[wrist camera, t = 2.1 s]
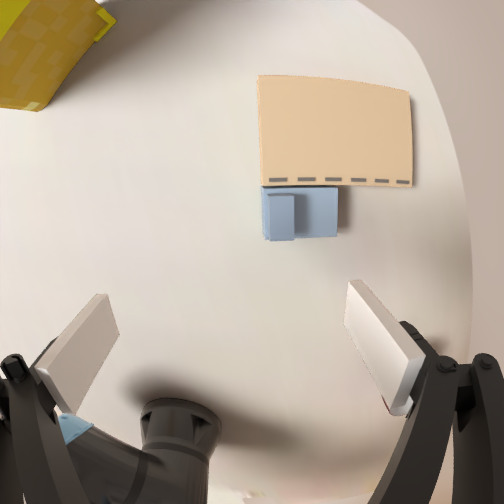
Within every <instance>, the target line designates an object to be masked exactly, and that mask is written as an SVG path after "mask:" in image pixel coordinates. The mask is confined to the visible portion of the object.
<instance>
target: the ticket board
mask: <svg viewBox="0 0 504 504" xmlns="http://www.w3.org/2000/svg"><path fill="white" fill-rule="evenodd" d="M257 97H258V119H259V142H260V167H261V184H262V185H263V186H276V185H367V186H393V187H411V188H412V170H413V152H412V124H411V109H410V98H409V91H404V90H400V89H395V88H391V87H386V86H380V85H375V84H369V83H363V82H356V81H349V80H341V79H332V78H321V77H308V76H288V75H258V79H257Z"/></svg>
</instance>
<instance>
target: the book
mask: <svg viewBox="0 0 504 504" xmlns="http://www.w3.org/2000/svg"><path fill="white" fill-rule="evenodd" d="M116 22H117V21H116V20H115V19H114V18H113V17H112V16H111V15H110V14H109V13H108V12H107V11H106V10H105V9H104V8H103V7H101V6H100V5H99V4H98V3H97V2H96V1H95V0H0V108H9V109H18V110H27V111H35V112H38V111H40V110H42V109H43V108H45V107H46V106H47V105H48V103H49V102H50V100H51V99H52V97H53V96H54V94H55V93H56V91H57V90H58V88H59V87H60V85H61V84H62V82H63V81H64V80H65V78H66V77H67V76H68V74H69V73H70V72H71V70H72V69H73V68H74V66H75V65H76V64H77V62H78V61H79V60H80V59H81V57H82V56H83V55H84V54H85V53H86V51H87V50H88V49H89V48H90V47H91V46H92V44H93V43H94V42H95V41H96V42H98V41H99V40H100V39H101V38H102V37H103V36H104V35H105V33H106V32H107V31H108V30H109V29H110V28H111V27H112V26H113V25H114V24H115V23H116Z"/></svg>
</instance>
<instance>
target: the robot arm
mask: <svg viewBox="0 0 504 504" xmlns="http://www.w3.org/2000/svg"><path fill="white" fill-rule="evenodd" d="M343 325H344V326H345V328H346V330H347V332H348V333H349V335H350V337H351V339H352V341H353V342H354V344H355V346H356V348H357V350H358V351H359V353H360V355H361V357H362V359H363V361H364V362H365V364H366V366H367V368H368V370H369V372H370V374H371V375H372V377H373V379H374V381H375V383H376V385H377V387H378V389H379V391H380V393H381V394H382V396H383V398H384V400H385V402H386V404H387V406H388V408H389V410H391V409H394V408H397V407H401V406H404V405H405V404H406V402H407V400H408V398H409V396H410V397H411V399H412V400H413V404H412V406H411V408H410V410H409V412H408V414H407V416H406V417H405V418H407V420H406V422H405V425H404V428H403V430H402V433H401V436H400V438H399V440H398V443H397V445H396V448H395V450H394V452H393V455H392V457H391V459H390V461H389V463H388V466H387V468H386V470H385V472H384V474H383V476H382V478H381V480H380V482H379V484H378V486H377V487H376V489H375V491H374V493H373V495H372V497H371V499H370V500H369V502H368V504H429V501H430V499H431V496H432V493H433V491H434V488H435V485H436V482H437V479H438V476H439V473H440V470H441V467H442V463H443V459H444V456H445V452H446V448H447V444H448V440H449V436H450V431H451V426H453V443H454V444H453V445H454V476H453V495H452V504H504V378H503V375H502V372H501V370H500V367H499V364H498V362H497V360H496V359H495V358H494V357H493V356H491V355H489V354H485V353H481V354H477V355H476V356H475V358H474V359H473V362H472V364H460V365H458V363H457V362H456V361H455V360H454V359H453V358H451V357H448V356H439V355H438V354H437V353H436V351H435V350H434V349H433V348H432V347H431V346H430V344H429V343H428V342H427V341H426V340H425V339H424V337H423V336H422V335H421V334H419V332H418V331H417V329H416V328H415V327H414V326H413V325H411V324H409V323H408V322H406V321H401V322H398V321H397V320H396V319H395V317H394V316H393V315H392V314H391V313H390V312H389V310H388V309H387V308H386V307H385V306H384V305H383V304H382V302H381V301H380V300H379V299H378V298H377V297H376V296H375V294H374V293H373V292H372V291H371V290H370V289H369V288H368V287H367V286H366V284H365V283H364V282H363V281H362V280H354V281H348V290H347V300H346V308H345V317H344V324H343ZM119 335H120V334H119V331H118V328H117V325H116V322H115V318H114V315H113V312H112V309H111V305H110V302H109V298H108V294H96V295H95V296H94V297H93V298H92V299H91V300H90V301H89V302H88V304H87V305H86V306H85V307H84V308H83V309H82V310H81V311H80V312H79V314H78V315H77V316H76V317H75V318H74V319H73V320H72V322H71V323H70V324H69V325H68V326H67V327H66V328H65V330H64V331H63V332H62V333H61V334H60V335H59V336H58V337H57V338H55V339H54V340H52V341H51V342H50V343H49V344H48V346H47V347H46V349H44V350H43V352H42V354H40V355H39V357H38V358H37V359H36V360H35V362H34V363H33V364H32V365H31V367H30V368H28V367H27V365H26V363H25V361H24V359H23V357H22V356H21V355H20V354H11V355H9V356H7V357H6V358H5V359H4V360H3V361H2V362H1V365H0V367H1V369H2V371H3V372H4V374H5V376H6V378H7V379H2V378H1V376H0V413H1V415H2V418H1V419H0V504H24V501H23V493H24V497H25V500H26V503H27V504H207V495H208V474H209V460H210V458H211V456H212V454H213V452H214V450H215V448H216V446H217V444H218V442H219V440H220V436H221V423H220V421H219V419H218V418H217V416H216V415H215V414H213V413H212V412H211V411H210V410H208V409H206V408H205V407H203V406H201V405H198V404H196V403H193V402H189V401H186V400H180V399H171V398H166V399H158V400H154V401H151V402H149V403H148V404H147V405H146V406H145V407H144V408H143V411H142V414H141V418H140V426H141V435H142V443H143V447H142V451H141V450H139V449H137V448H135V447H133V446H131V445H129V444H127V443H125V442H123V441H121V440H119V439H117V438H115V437H113V436H111V435H109V434H107V433H105V432H103V431H102V430H100V429H98V428H97V427H95V426H94V424H92V423H88V422H87V421H85V420H83V419H81V418H79V417H78V416H76V415H75V414H76V412H77V410H78V409H79V407H80V405H81V403H82V401H83V399H84V397H85V395H86V393H87V391H88V389H89V388H90V386H91V384H92V382H93V380H94V378H95V377H96V375H97V373H98V371H99V369H100V368H101V366H102V364H103V362H104V361H105V359H106V357H107V355H108V354H109V352H110V350H111V349H112V347H113V345H114V343H115V342H116V340H117V338H118V337H119ZM56 404H57V406H58V407H59V409H60V410H61V411H62V413H64V414H62V415H60V416H59V417H57V414H56V412H55V410H54V407H55V405H56Z"/></svg>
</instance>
